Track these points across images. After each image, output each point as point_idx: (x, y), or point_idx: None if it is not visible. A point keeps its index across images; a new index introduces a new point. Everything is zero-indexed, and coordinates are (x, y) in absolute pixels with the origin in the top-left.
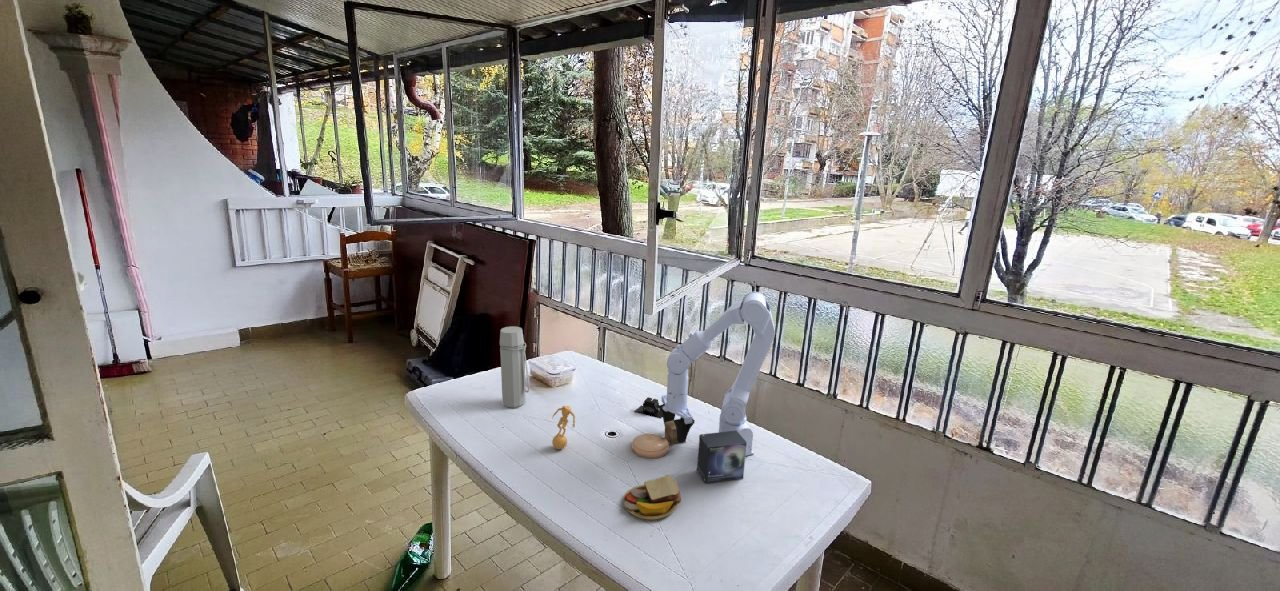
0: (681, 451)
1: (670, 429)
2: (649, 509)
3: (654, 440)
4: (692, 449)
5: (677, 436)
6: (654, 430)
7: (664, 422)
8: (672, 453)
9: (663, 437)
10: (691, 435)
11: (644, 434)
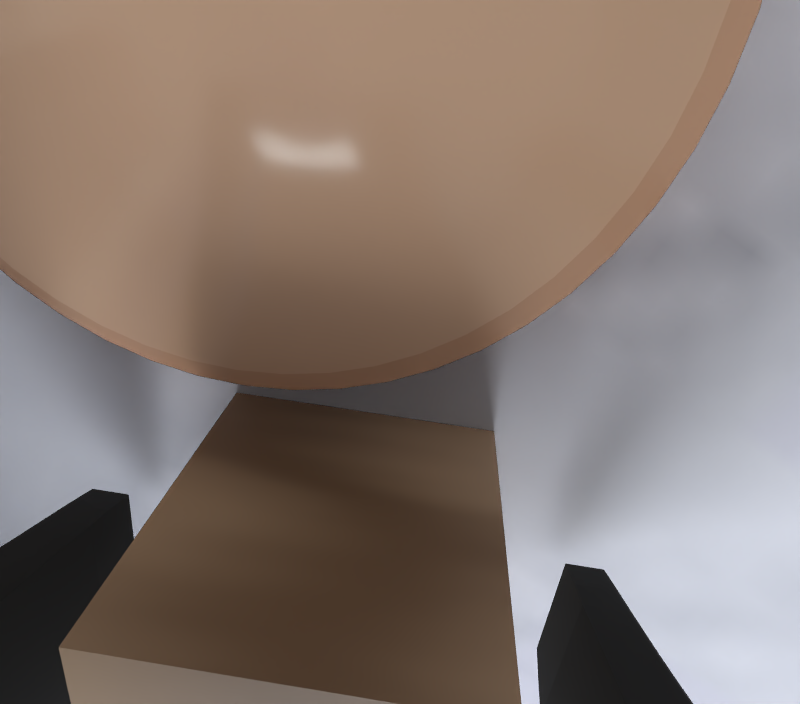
0: (34, 409)
1: (192, 615)
2: None
3: (265, 99)
4: None
5: (16, 563)
6: (796, 435)
7: (643, 690)
8: None
9: (302, 365)
10: None
11: (690, 18)
